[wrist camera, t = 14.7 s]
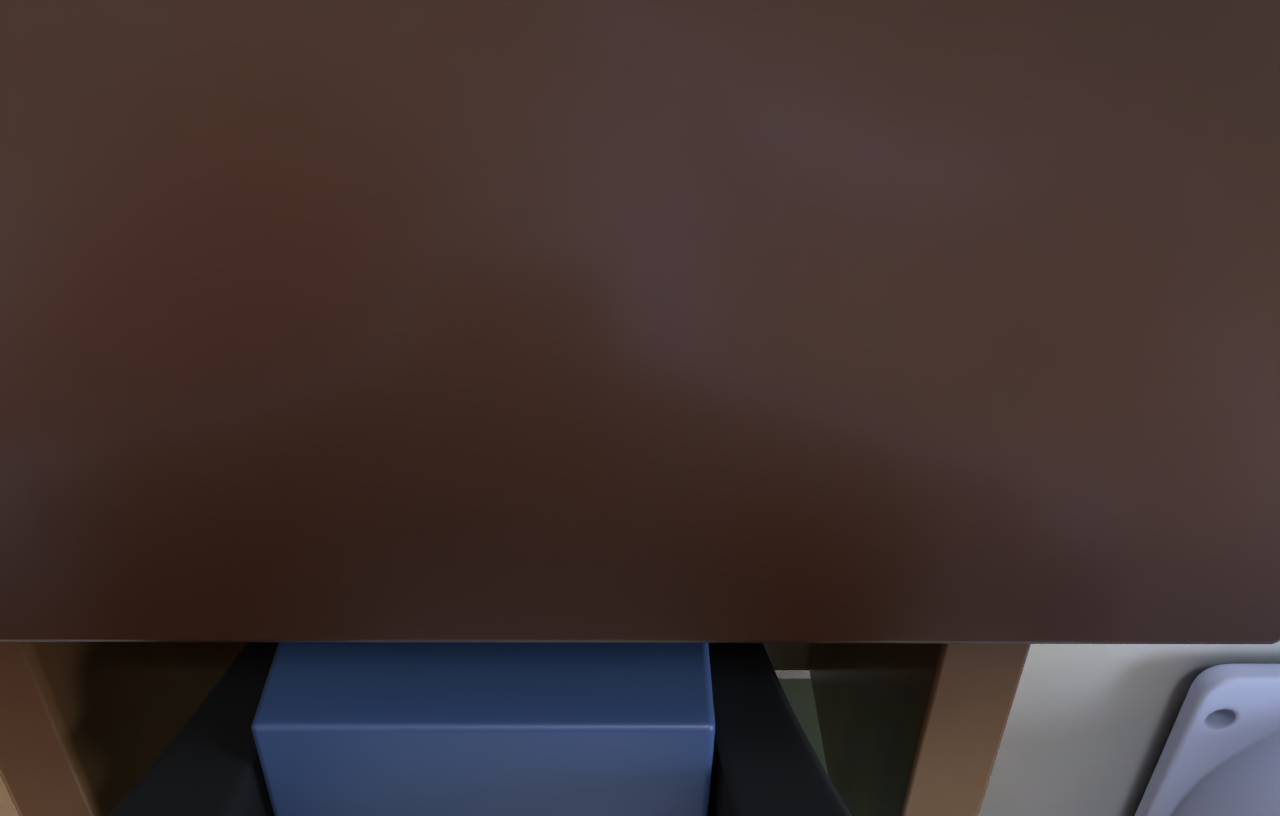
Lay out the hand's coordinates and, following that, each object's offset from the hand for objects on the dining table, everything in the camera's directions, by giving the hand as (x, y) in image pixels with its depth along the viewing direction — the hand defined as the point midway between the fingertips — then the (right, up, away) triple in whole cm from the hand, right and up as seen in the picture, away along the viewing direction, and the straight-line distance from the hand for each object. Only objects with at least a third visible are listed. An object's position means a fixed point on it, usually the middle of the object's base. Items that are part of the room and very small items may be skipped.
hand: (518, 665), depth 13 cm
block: (0, +1, +1) cm, 1 cm away
